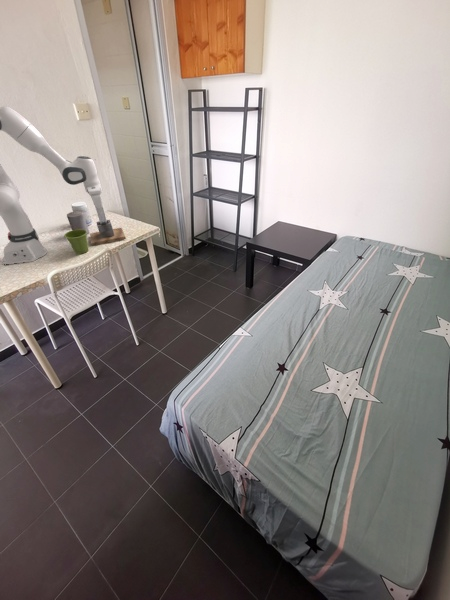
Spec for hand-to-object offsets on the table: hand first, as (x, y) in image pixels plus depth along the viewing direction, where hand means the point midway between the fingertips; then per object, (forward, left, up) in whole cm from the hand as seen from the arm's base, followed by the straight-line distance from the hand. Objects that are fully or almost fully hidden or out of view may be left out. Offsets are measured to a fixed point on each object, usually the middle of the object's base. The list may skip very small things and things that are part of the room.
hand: (100, 211), depth 170 cm
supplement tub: (-12, +32, -17) cm, 38 cm away
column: (0, 0, -15) cm, 15 cm away
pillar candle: (-15, +15, -17) cm, 27 cm away
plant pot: (-16, -13, -17) cm, 27 cm away
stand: (0, 0, -17) cm, 17 cm away
